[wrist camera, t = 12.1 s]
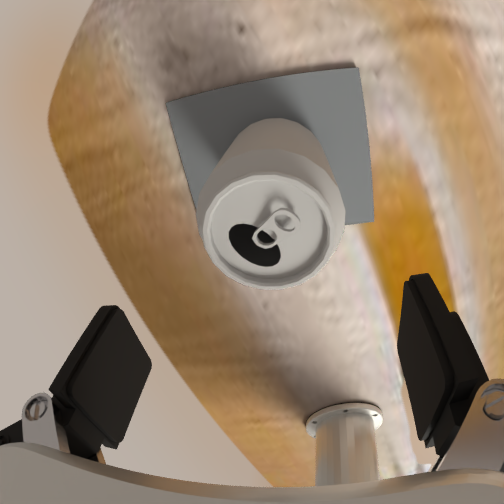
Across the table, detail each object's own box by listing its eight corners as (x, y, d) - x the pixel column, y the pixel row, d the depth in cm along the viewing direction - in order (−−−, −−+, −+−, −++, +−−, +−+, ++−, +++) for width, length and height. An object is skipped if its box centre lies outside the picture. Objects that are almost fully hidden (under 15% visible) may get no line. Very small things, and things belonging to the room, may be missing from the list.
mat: (372, 218, 27) (374, 221, 26) (208, 240, 30) (206, 243, 29) (357, 67, 20) (358, 67, 20) (168, 102, 23) (165, 102, 23)
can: (210, 165, 25) (157, 242, 15) (272, 96, 22) (259, 120, 12) (280, 222, 27) (272, 324, 17) (344, 161, 24) (383, 238, 14)
